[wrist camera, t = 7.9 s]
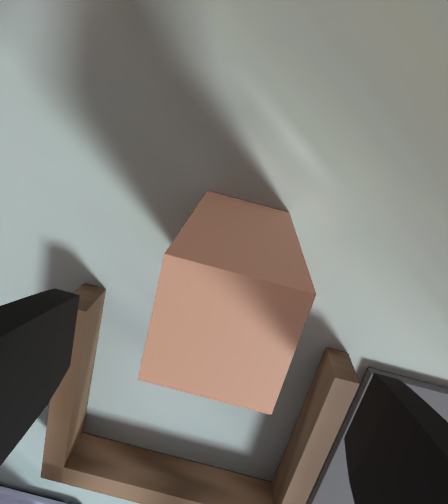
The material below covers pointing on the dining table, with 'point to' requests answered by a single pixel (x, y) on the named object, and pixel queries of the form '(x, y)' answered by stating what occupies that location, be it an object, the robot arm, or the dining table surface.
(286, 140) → the dining table surface
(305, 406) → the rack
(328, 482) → the mat
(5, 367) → the robot arm
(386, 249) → the dining table surface
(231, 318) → the block
